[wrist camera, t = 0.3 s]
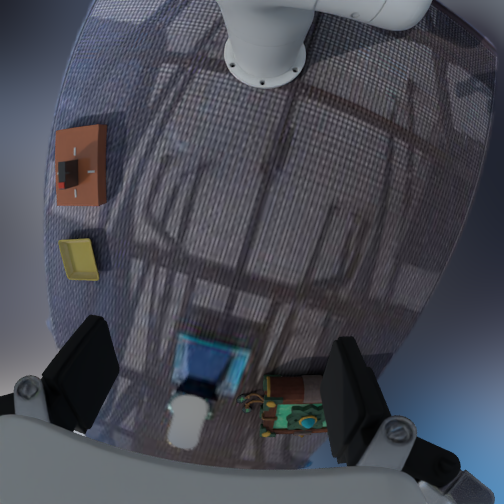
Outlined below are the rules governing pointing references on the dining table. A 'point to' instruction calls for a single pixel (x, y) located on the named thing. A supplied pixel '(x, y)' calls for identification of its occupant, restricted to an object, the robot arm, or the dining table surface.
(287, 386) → the book
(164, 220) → the dining table surface
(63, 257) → the yellow square tray
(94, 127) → the panel
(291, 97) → the dining table surface
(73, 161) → the black block red end
